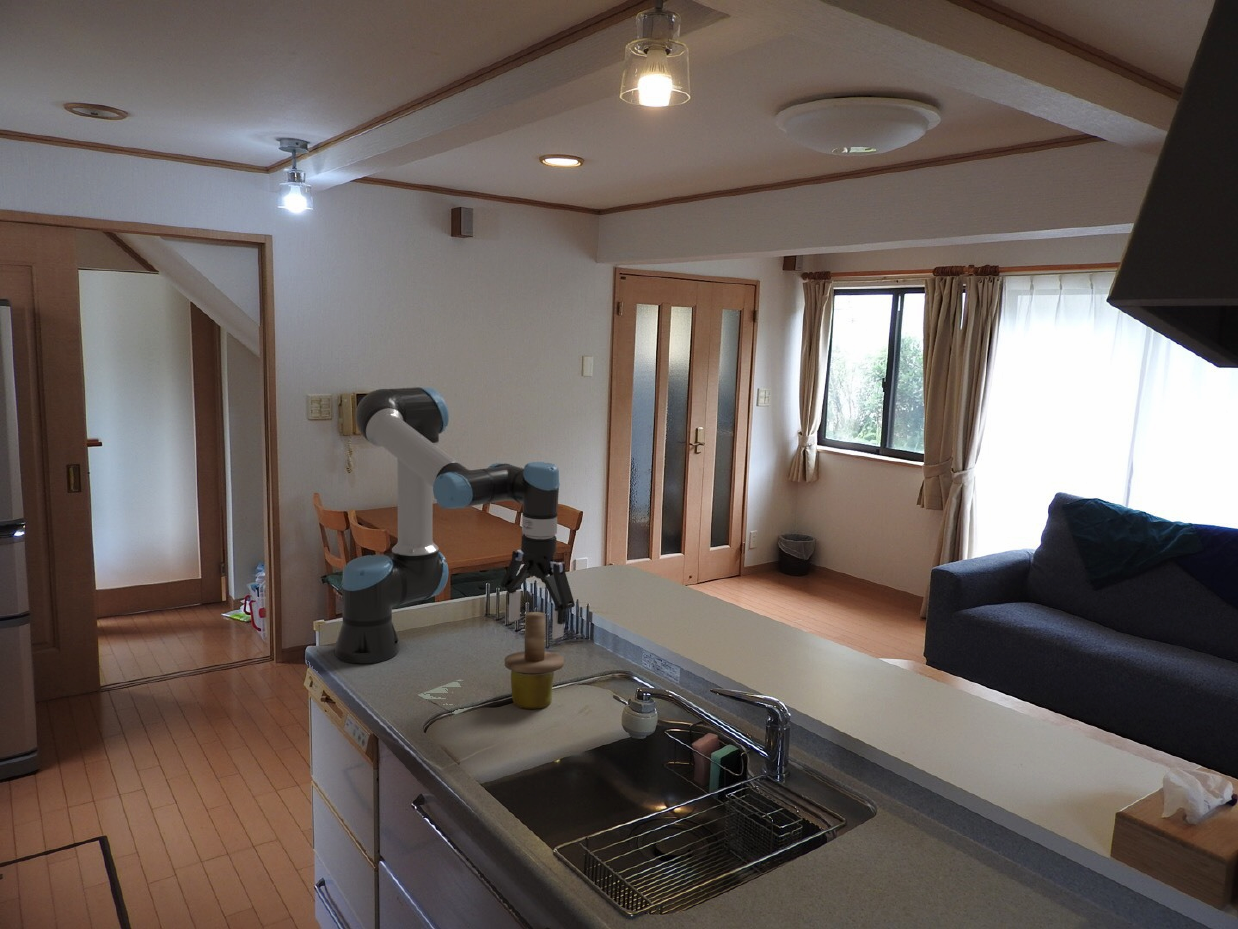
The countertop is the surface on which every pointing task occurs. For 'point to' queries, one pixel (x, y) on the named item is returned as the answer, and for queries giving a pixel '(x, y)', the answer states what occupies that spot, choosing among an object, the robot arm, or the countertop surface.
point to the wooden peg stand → (534, 649)
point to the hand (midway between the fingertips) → (535, 628)
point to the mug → (532, 689)
